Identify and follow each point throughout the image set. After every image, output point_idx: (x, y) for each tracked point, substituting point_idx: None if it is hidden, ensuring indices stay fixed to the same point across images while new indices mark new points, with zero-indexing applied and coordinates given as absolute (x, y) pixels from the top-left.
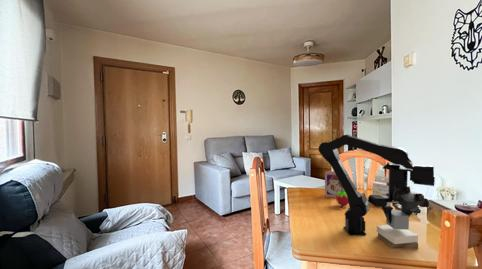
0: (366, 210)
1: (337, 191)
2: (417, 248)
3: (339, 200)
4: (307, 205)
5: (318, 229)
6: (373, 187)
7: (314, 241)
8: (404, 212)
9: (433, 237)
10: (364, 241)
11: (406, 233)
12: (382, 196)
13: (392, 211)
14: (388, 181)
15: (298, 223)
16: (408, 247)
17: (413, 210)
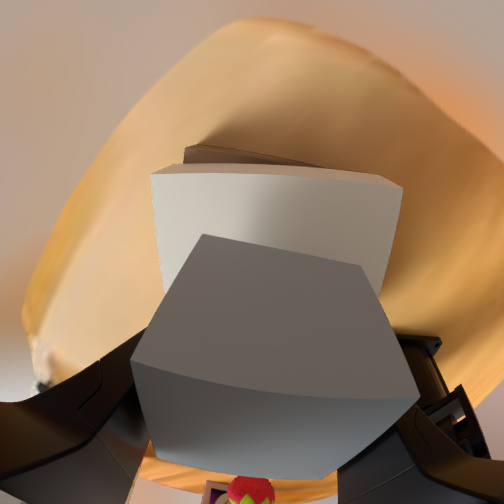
0: (468, 448)
1: (226, 500)
2: (201, 145)
3: (270, 489)
4: None
5: (478, 371)
6: (129, 495)
7: None
8: (136, 431)
9: (48, 248)
10: (438, 280)
11: (232, 221)
12: None
13: (281, 470)
14: None
15: (480, 396)
16: (263, 155)
17: (7, 407)
